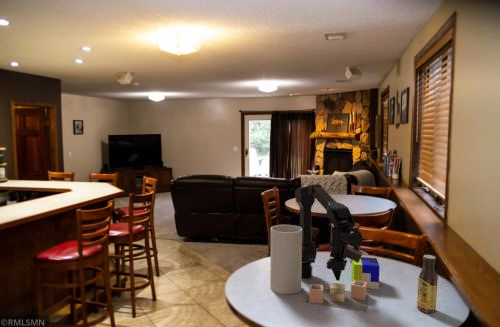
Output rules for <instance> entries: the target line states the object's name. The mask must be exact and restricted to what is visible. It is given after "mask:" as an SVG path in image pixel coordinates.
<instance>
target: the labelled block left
mask: <svg viewBox="0 0 500 327" xmlns="http://www.w3.org/2000/svg"><path fill="white" fill-rule="evenodd" d="M323 288H324V285H323V284H311V283H310V284H309V290H308V291H309V292H308V295H309V303H308V304H310V303H323Z"/></svg>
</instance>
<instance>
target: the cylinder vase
mask: <svg viewBox="0 0 500 327" xmlns="http://www.w3.org/2000/svg"><path fill="white" fill-rule="evenodd" d="M301 274H302V228H301V227H300V226H299V225H294V224H293V225H292V224H277V225H273V226H271V227H270V278H269V279H270V282H269V283H270V286H269V287H270V289H271V291H272V292H274V293H276V294H280V295H294V294H298V293H300V292H301V290H302V278H301Z"/></svg>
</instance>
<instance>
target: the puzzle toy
mask: <svg viewBox="0 0 500 327" xmlns="http://www.w3.org/2000/svg"><path fill="white" fill-rule="evenodd" d="M380 268H381V267H380V264H379V261H378V258H376V257H367V256H366V257H365V256H363V257H362V256H361V258H360V260H359V263H357V262H355V261H354V260H352V261H351V280H352V281H351V282H352V283H353V281H354V280H356V281H361V282H367V289H372V290H374V289H375V290H379V289H380Z"/></svg>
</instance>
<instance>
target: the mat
mask: <svg viewBox="0 0 500 327" xmlns="http://www.w3.org/2000/svg"><path fill="white" fill-rule="evenodd" d="M369 296H370V295H369V293H367V296H366V298H365V300H362V299H357V298H352V297H351V290H345V299H344V302H338V301H331V300H330V288H329V287H323V303H309V294H308V295H307V297H306V300H305V301H304V303H305V304H312V305H318V306H325V307H331V308H337V309H342V310H343V309H344V310H351V311H356V312H363V313H364V312H365V313H368V303H369Z"/></svg>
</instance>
